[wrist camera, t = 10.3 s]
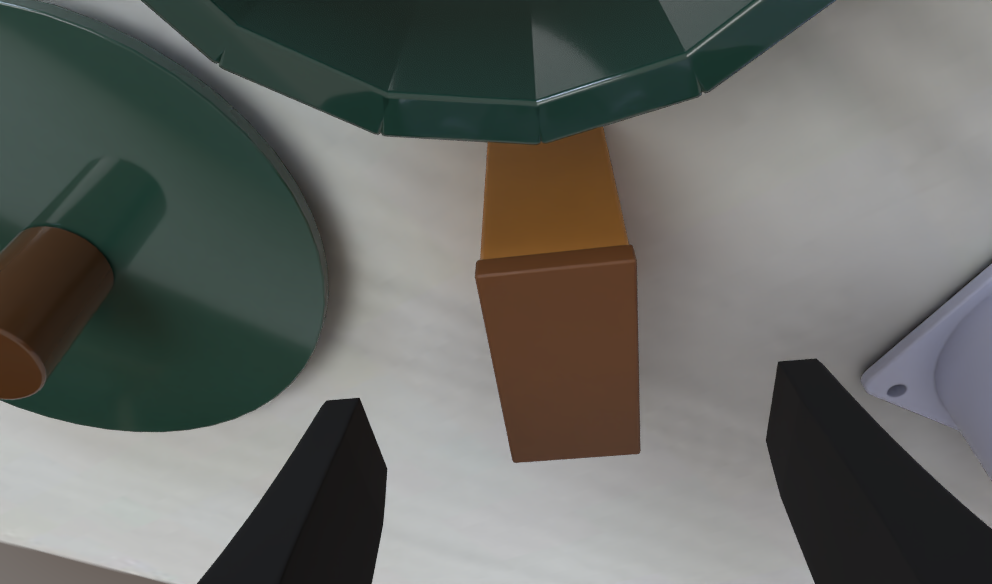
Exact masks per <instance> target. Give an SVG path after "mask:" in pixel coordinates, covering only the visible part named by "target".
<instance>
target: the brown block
mask: <svg viewBox="0 0 992 584" xmlns="http://www.w3.org/2000/svg"><path fill="white" fill-rule="evenodd" d="M475 279H476V284H477V289H478V294H479V299H480V304H481V309H482V314H483V319H484V323H485V328H486V333H487V338H488V343H489V348H490V353H491V358H492V363H493V368H494V373H495V377H496V382H497V387H498V392H499V397H500V402H501V407H502V412H503V417H504V422H505V426H506V431H507V436H508V441H509V446H510V451H511V456H512V460H513V462H515V463H519V462H533V461H547V460H561V459H575V458H589V457H602V456H616V455H630V454H639V453H640V405H639V354H638V303H637V260H636V256H635V251H634V247H633V246H632V245H629V242H628V237H627V233H626V228H625V224H624V219H623V215H622V210H621V206H620V201H619V197H618V192H617V188H616V183H615V179H614V174H613V169H612V165H611V160H610V156H609V151H608V147H607V142H606V138H605V133H604V129H603V127H599V128H596V129H593V130H590V131H586V132H583V133H580V134H576V135H573V136H570V137H567V138H563V139H560V140H557V141H554V142H550V143H547V144H543V143H542V142H540V144H539V145H525V144H508V143H491V142H488V145H487V161H486V176H485V192H484V208H483V223H482V239H481V254H480V260H478V261H477V262H476V271H475Z"/></svg>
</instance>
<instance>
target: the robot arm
mask: <svg viewBox="0 0 992 584" xmlns="http://www.w3.org/2000/svg"><path fill="white" fill-rule="evenodd" d="M861 383H862V385H863V387H864V389H865V391H866V392H867V393H869V394H870V395H872V396H875V397H877V398H880V399H882V400H885V401H887V402H889V403H892V404H894V405H897V406H899V407H902V408H904V409H907V410H909V411H912V412H914V413H917V414H919V415H922V416H924V417H927V418H929V419H932V420H934V421H936V422H939V423H941V424H944V425H946V426H949V427H951V428H954V429H956V430H959V431H960V432H961V434H962V435H963V437H964V438H965V440H966V441H967V443H968V445H969V446H970V448H971V449H972V451H973V453H974V454H975V456H976V457H977V459H978V460H979V462H980V464H981V465H982V467H983V468H984V470H985V472H986V473H987V475H988V476H989V478H990V479H991V481H992V264H990V265H989V266H988V267H987V268H986V269H985V270H983V271H982V272H981V273H980V274H979V275H978V276H976V277H975V278H974V279H973V280H972V281H971V282H969V283H968V284H967V285H966V286H965V287H963V288H962V289H961V290H960V291H959V292H958V293H956V294H955V295H954V296H953V297H952V298H951V299H949V300H948V301H947V302H946V303H945V304H944V305H942V306H941V307H940V308H939V309H938V310H937V311H935V312H934V313H933V314H932V315H931V316H930V317H928V318H927V319H926V320H925V321H924V322H922V323H921V324H920V325H919V326H918V327H917V328H915V329H914V330H913V331H912V332H911V333H910V334H908V335H907V336H906V337H905V338H904V339H903V340H901V341H900V342H899V343H898V344H897V345H896V346H894V347H893V348H892V349H891V350H890V351H889V352H887V353H886V354H885V355H884V356H883V357H882V358H880V359H879V360H878V361H877V362H876V363H874V364H873V365H872V366H871V367H870V368H869V369H867V370H866V371H865V373H864V374H863V375H862V377H861ZM894 385H895V386H894ZM766 443H767V447H768V451H769V455H770V459H771V463H772V466H773V470H774V474H775V478H776V481H777V485H778V489H779V492H780V496H781V499H782V501H783V504H784V507H785V509H786V512H787V514H788V517H789V519H790V522H791V525H792V527H793V530H794V532H795V535H796V537H797V540H798V542H799V545H800V547H801V550H802V552H803V555H804V557H805V560H806V562H807V565H808V567H809V570H810V572H811V575H812V577H813V580H814V582H815V584H992V529H991V528H990V527H989V526H987V525H986V524H985V523H984V522H983V521H982V520H980V519H979V518H978V517H977V516H976V515H975V514H973V513H972V512H971V511H970V510H969V509H968V508H967V507H965V506H964V505H963V504H962V503H961V502H960V501H959V500H958V499H956V498H955V497H954V496H953V495H952V494H951V493H950V492H949V491H947V490H946V489H945V488H944V487H943V486H942V485H941V484H940V483H939V482H938V481H936V480H935V479H934V478H933V477H932V476H931V475H930V474H929V473H928V472H927V471H926V470H925V469H924V468H923V467H922V466H921V465H919V464H918V463H917V462H916V461H915V460H914V459H913V458H912V457H911V456H910V455H909V454H908V453H907V452H906V451H905V450H904V449H903V448H902V447H901V446H900V445H899V444H898V443H897V442H896V441H895V440H894V439H893V438H892V437H891V436H890V435H889V434H888V433H887V432H886V431H885V430H884V429H883V428H882V427H881V426H880V425H879V424H878V423H877V422H876V421H875V420H874V419H873V418H872V417H871V416H870V415H869V414H868V413H867V412H866V410H865V409H864V408H863V407H862V406H861V405H860V404H859V403H858V402H857V401H856V400H855V399H854V398H853V397H852V396H851V395H850V393H849V392H848V391H847V390H846V389H845V388H844V387H843V386H842V385H841V384H840V383H839V381H838V380H837V379H836V378H835V377H834V376H833V375H832V374H831V373H830V372H829V370H828V369H827V368H826V367H825V366H824V365H823V364H822V363H821V362H820V361H819V360H817V359H805V360H793V361H782V362H778V366H777V372H776V379H775V385H774V391H773V398H772V404H771V411H770V417H769V423H768V430H767V436H766ZM386 480H387V467H386V464H385V462H384V459H383V457H382V454H381V452H380V449H379V446H378V444H377V441H376V439H375V436H374V434H373V431H372V429H371V426H370V423H369V421H368V418H367V416H366V413H365V411H364V408H363V405H362V403H361V400H360V398H352V399H340V400H329V401H326V402H325V403H324V404H323V405H322V407H321V408H320V410H319V412H318V413H317V415H316V416H315V418H314V419H313V421H312V423H311V424H310V426H309V427H308V429H307V431H306V432H305V434H304V435H303V437H302V439H301V440H300V442H299V443H298V445H297V446H296V448H295V450H294V451H293V453H292V454H291V456H290V457H289V459H288V460H287V462H286V463H285V465H284V466H283V468H282V470H281V471H280V473H279V474H278V475H277V477H276V478H275V480H274V481H273V483H272V484H271V486H270V487H269V489H268V490H267V492H266V493H265V494H264V496H263V497H262V499H261V500H260V502H259V503H258V505H257V506H256V508H255V509H254V510H253V512H252V513H251V515H250V516H249V517H248V519H247V520H246V521H245V523H244V524H243V525H242V527H241V528H240V529H239V531H238V532H237V533H236V535H235V536H234V537H233V539H232V540H231V541H230V543H229V544H228V545H227V547H226V548H225V549H224V551H223V552H222V553H221V555H220V556H219V557H218V558H217V560H216V561H215V562H214V563H213V565H212V566H211V567H210V568H209V570H208V571H207V572H206V573H205V575H204V576H203V577H202V578H201V579H200V581H199V582H198V583H197V584H372V579H373V574H374V569H375V564H376V559H377V554H378V548H379V543H380V538H381V533H382V527H383V519H384V508H385V495H386Z"/></svg>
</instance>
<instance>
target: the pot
mask: <svg viewBox="0 0 992 584" xmlns="http://www.w3.org/2000/svg"><path fill="white" fill-rule="evenodd" d="M141 1H142V2H143V3H145V4H146V5H147V6H148V7H149V8H150V9H152V10H153V11H154V12H155V13H156V14H157V15H159V16H160V17H161V18H162V19H163V20H164V21H165V22H167V23H168V24H169V25H170V26H171V27H172V28H174V29H175V30H176V31H177V32H178V33H179V34H181V35H182V36H183V37H184V38H185V39H186V40H187V41H189V42H190V43H191V44H192V45H193V46H194V47H196V48H197V49H198V50H199V51H200V52H201V53H203V54H204V55H205V56H206V57H207V58H208V59H209V60H211V61H212V62H214V63H216V64H217V63H219V67H221V68H222V69H224V70H226V71H229V72H231V73H233V74H236V75H238V76H240V77H243V78H245V79H247V80H250V81H252V82H254V83H257V84H259V85H261V86H264V87H266V88H268V89H271V90H273V91H275V92H278V93H280V94H282V95H285V96H287V97H289V98H292V99H294V100H296V101H299V102H301V103H303V104H306V105H308V106H310V107H313V108H315V109H317V110H320V111H322V112H324V113H327V114H329V115H331V116H334V117H336V118H338V119H341V120H343V121H345V122H348V123H350V124H352V125H355V126H357V127H359V128H362V129H364V130H366V131H369V132H371V133H373V134H377V135H379V134H380V133H381V134H382V135H383V136H389V137H406V138H423V139H440V140H457V141H474V142H491V143H508V144H525V145H539V144H540V142H542V143H543V144H547V143H550V142H554V141H557V140H560V139H563V138H567V137H570V136H573V135H576V134H580V133H583V132H586V131H590V130H593V129H596V128H599V127H603V126H606V125H609V124H612V123H616V122H619V121H622V120H625V119H629V118H632V117H635V116H639V115H642V114H645V113H648V112H652V111H655V110H658V109H661V108H665V107H668V106H671V105H674V104H678V103H681V102H684V101H688V100H691V99H694V98H697V97H699V96H701V95H702V92H704V93H708V92H710V91H711V90H713V89H714V88H715V87H717V86H718V85H720V84H721V83H722V82H724V81H725V80H726V79H728V78H729V77H731V76H732V75H733V74H735V73H736V72H738V71H739V70H740V69H742V68H743V67H744V66H746V65H747V64H749V63H750V62H751V61H753V60H754V59H756V58H757V57H758V56H760V55H761V54H762V53H764V52H765V51H767V50H768V49H769V48H771V47H772V46H774V45H775V44H776V43H778V42H779V41H780V40H782V39H783V38H785V37H786V36H787V35H789V34H790V33H792V32H793V31H794V30H796V29H797V28H798V27H800V26H801V25H803V24H804V23H805V22H807V21H808V20H810V19H811V18H812V17H814V16H815V15H816V14H818V13H819V12H821V11H822V10H823V9H825V8H826V7H828V6H829V5H830V4H832V3H833V2H834V1H836V0H141Z"/></svg>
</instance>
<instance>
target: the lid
mask: <svg viewBox="0 0 992 584" xmlns="http://www.w3.org/2000/svg"><path fill="white" fill-rule="evenodd" d="M328 297H329V285H328V267H327V262H326V257H325V252H324V248H323V243H322V239H321V237H320V234H319V231H318V228H317V226H316V223H315V220H314V217H313V215H312V212H311V210H310V208H309V206H308V204H307V202H306V201H305V199H304V197H303V195H302V193H301V191H300V189H299V187H298V185H297V183H296V182H295V180H294V179H293V177H292V176H291V174H290V173H289V172H288V170H287V169H286V167H285V166H284V164H283V163H282V161H281V160H280V159H279V157H278V156H277V154H276V153H275V152H274V150H273V149H272V148H271V147H270V146H269V145H268V144H267V142H266V141H265V140H264V139H263V138H262V137H261V135H260V134H259V133H258V132H257V131H256V130H255V129H254V127H253V126H252V125H251V124H250V123H249V122H248V121H247V120H246V119H245V118H244V117H243V116H242V115H241V114H240V113H238V112H237V111H236V110H235V109H234V108H233V107H232V106H231V105H230V104H229V103H228V102H227V101H226V100H224V99H223V98H222V97H221V96H220V95H219V94H218V93H217V92H215V91H214V90H213V89H211V88H210V87H209V86H207V85H206V84H205V83H203V82H202V81H201V80H200V79H198V78H197V77H196V76H194V75H193V74H192V73H190V72H189V71H188V70H186V69H185V68H184V67H182V66H181V65H179V64H177V63H176V62H174V61H173V60H171V59H169V58H168V57H166V56H164V55H163V54H161V53H160V52H158V51H156V50H155V49H153V48H151V47H150V46H148V45H147V44H145V43H143V42H141V41H139V40H137V39H135V38H133V37H131V36H129V35H127V34H125V33H123V32H121V31H119V30H117V29H115V28H112V27H110V26H108V25H106V24H104V23H102V22H100V21H97V20H95V19H92V18H89V17H86V16H84V15H81V14H78V13H75V12H73V11H70V10H67V9H64V8H62V7H59V6H56V5H52V4H48V3H44V2H40V1H36V0H0V400H1V401H3V402H6V403H8V404H11V405H13V406H16V407H18V408H21V409H24V410H28V411H31V412H34V413H37V414H40V415H43V416H46V417H50V418H54V419H58V420H62V421H66V422H70V423H74V424H79V425H84V426H90V427H96V428H102V429H109V430H120V431H131V432H170V431H182V430H191V429H196V428H202V427H207V426H213V425H216V424H219V423H223V422H226V421H229V420H233V419H236V418H238V417H240V416H243V415H245V414H247V413H249V412H252V411H254V410H256V409H258V408H259V407H261V406H263V405H264V404H266V403H267V402H269V401H271V400H272V399H274V398H275V397H276V396H278V395H279V394H280V393H281V392H282V391H283V390H285V389H286V388H287V387H288V386H289V385H290V384H292V382H293V381H294V380H295V379H296V378H297V376H298V375H299V374H300V373H301V371H302V370H303V369H304V368H305V367H306V365H307V363H308V361H309V359H310V357H311V356H312V354H313V352H314V350H315V348H316V346H317V343H318V340H319V337H320V334H321V330H322V327H323V324H324V321H325V318H326V312H327V304H328Z"/></svg>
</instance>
